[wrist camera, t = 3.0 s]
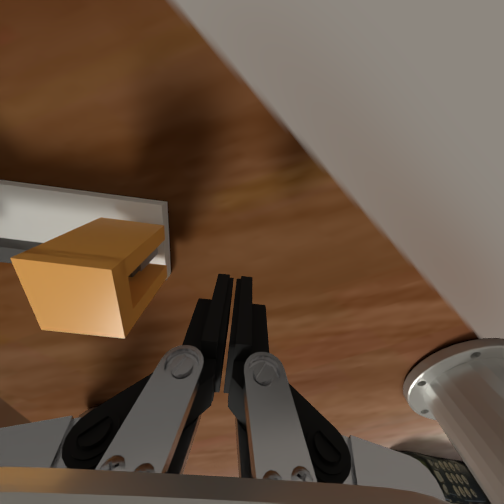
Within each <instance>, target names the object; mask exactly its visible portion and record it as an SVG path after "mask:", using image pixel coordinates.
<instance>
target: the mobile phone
mask: <svg viewBox="0 0 504 504" xmlns="http://www.w3.org/2000/svg"><path fill="white" fill-rule="evenodd" d="M401 453H403V454H406V455H409V456H411V457H413V458H415V459H417V460H419V461H420V462H421V463H422V464H423V465H424V466H425V467H426V468H428V470H429V471H430V472H431V474H432V475H433V476H434V477H435V479H436V480H437V482H438V484H439V486H440V488H441V490H442V492H443V495H444V497H445V500H446V501H447V502H450V503H452V504H491V502H490V501H489V499H488V497H487V496H486V494H485V493H484V491H483V490H482V488H481V487H480V485H479V484H478V482H477V481H476V479H475V478H474V476H473V475H472V473H471V472H470V470H469V469H468V467H467V466H466V464H465V463H464V462H462V461H456V460H450V459H443V458H437V457H431V456H427V455H422V454H418V453H414V452H401Z"/></svg>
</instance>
